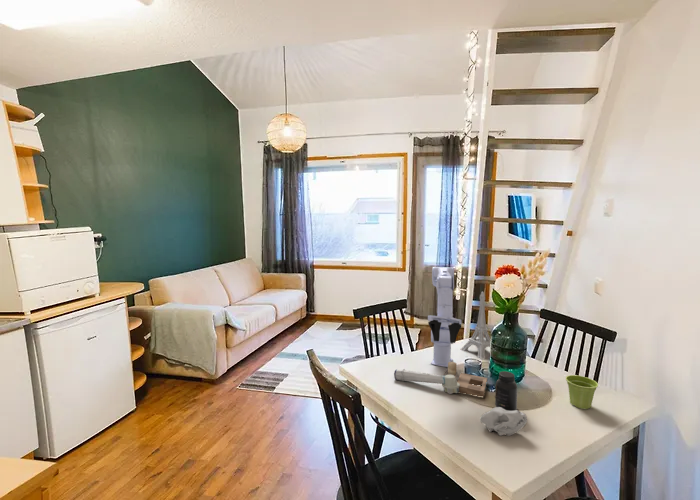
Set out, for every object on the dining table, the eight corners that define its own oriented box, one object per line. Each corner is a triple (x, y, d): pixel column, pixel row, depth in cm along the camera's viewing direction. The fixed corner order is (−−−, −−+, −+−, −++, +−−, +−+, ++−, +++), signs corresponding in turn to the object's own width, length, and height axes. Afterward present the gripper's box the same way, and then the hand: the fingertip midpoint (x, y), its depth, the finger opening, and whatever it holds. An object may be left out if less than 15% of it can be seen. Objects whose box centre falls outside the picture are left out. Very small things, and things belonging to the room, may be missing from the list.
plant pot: (567, 409, 117) (569, 384, 116) (561, 395, 126) (562, 373, 125) (600, 414, 114) (602, 389, 113) (591, 400, 123) (593, 377, 122)
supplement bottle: (499, 400, 123) (501, 367, 122) (519, 407, 118) (521, 374, 117) (491, 407, 118) (492, 374, 117) (512, 415, 113) (513, 380, 112)
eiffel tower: (479, 345, 177) (481, 288, 174) (501, 354, 165) (503, 293, 162) (460, 349, 171) (462, 290, 168) (481, 359, 159) (483, 296, 156)
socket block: (460, 378, 139) (461, 372, 139) (487, 384, 135) (487, 378, 135) (455, 391, 129) (455, 385, 129) (483, 398, 124) (483, 391, 124)
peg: (448, 377, 140) (448, 361, 140) (456, 379, 139) (457, 362, 138) (446, 381, 138) (447, 364, 137) (455, 382, 136) (455, 365, 135)
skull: (477, 412, 111) (508, 391, 108) (497, 435, 109) (528, 415, 106) (478, 424, 103) (511, 402, 100) (499, 449, 102) (533, 428, 99)
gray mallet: (397, 366, 142) (459, 371, 130) (399, 382, 142) (461, 388, 130) (392, 371, 137) (456, 377, 125) (394, 388, 137) (458, 395, 125)
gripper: (436, 302, 128) (435, 340, 124) (466, 307, 133) (467, 343, 129) (424, 304, 134) (424, 340, 130) (454, 309, 139) (454, 343, 136)
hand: (444, 342), depth 130 cm, fingers open, 7 cm apart
